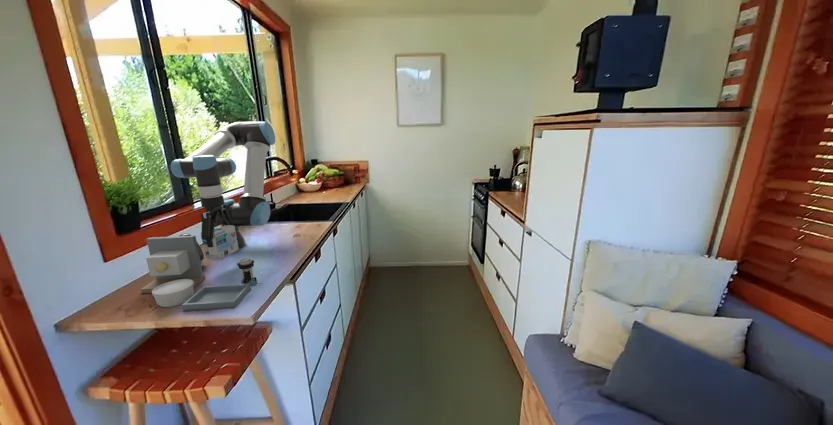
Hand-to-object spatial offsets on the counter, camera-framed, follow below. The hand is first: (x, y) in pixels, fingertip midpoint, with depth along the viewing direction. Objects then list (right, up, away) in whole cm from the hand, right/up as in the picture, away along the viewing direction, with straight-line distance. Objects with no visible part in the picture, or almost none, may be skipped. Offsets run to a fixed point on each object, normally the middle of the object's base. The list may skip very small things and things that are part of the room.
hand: (221, 248), depth 126 cm
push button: (+18, -12, -12) cm, 25 cm away
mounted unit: (-11, -12, -11) cm, 20 cm away
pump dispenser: (-15, -9, +3) cm, 18 cm away
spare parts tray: (+13, -15, -22) cm, 30 cm away
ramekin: (-2, -15, -21) cm, 26 cm away
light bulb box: (0, -2, +1) cm, 3 cm away
